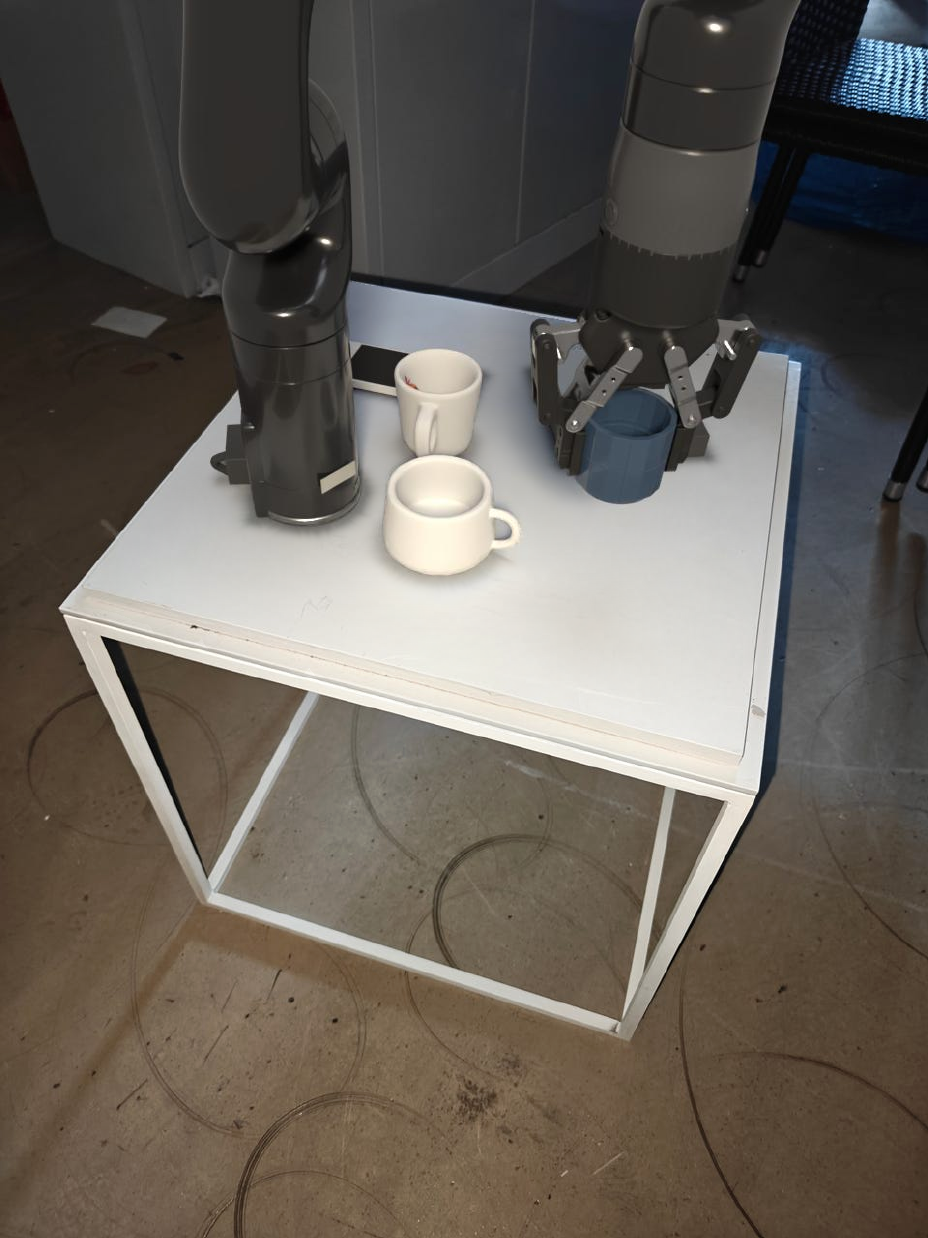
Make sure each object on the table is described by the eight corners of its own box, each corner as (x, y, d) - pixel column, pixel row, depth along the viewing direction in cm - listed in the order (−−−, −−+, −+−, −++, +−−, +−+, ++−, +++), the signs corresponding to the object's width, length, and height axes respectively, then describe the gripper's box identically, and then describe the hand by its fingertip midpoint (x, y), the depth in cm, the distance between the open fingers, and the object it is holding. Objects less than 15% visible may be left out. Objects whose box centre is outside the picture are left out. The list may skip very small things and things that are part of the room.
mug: (364, 562, 75) (361, 507, 70) (407, 494, 81) (406, 439, 77) (501, 600, 72) (506, 545, 68) (534, 526, 79) (540, 471, 74)
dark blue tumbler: (581, 510, 59) (594, 441, 55) (564, 454, 63) (574, 386, 59) (669, 506, 59) (688, 438, 55) (646, 451, 63) (662, 383, 59)
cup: (463, 493, 81) (466, 420, 76) (379, 480, 82) (375, 406, 76) (485, 425, 89) (490, 353, 83) (407, 414, 89) (406, 342, 84)
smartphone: (345, 346, 97) (345, 338, 97) (481, 373, 95) (481, 365, 94) (319, 380, 93) (318, 372, 92) (461, 410, 90) (461, 402, 89)
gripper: (774, 187, 51) (703, 430, 64) (527, 188, 50) (504, 437, 62) (825, 247, 46) (737, 498, 59) (552, 250, 45) (522, 508, 57)
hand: (617, 465), depth 60 cm, fingers closed on dark blue tumbler, 6 cm apart
